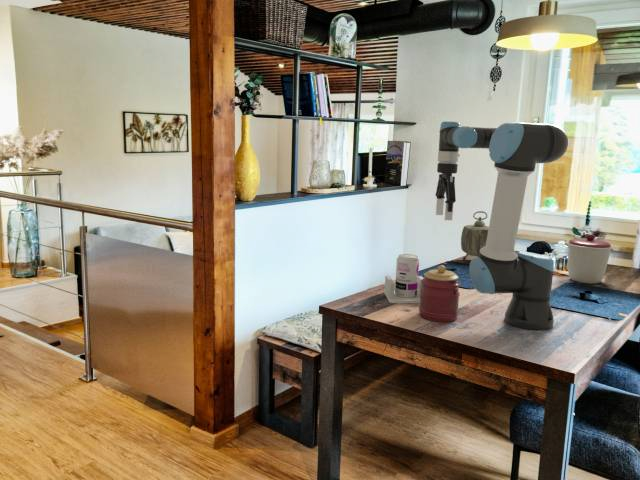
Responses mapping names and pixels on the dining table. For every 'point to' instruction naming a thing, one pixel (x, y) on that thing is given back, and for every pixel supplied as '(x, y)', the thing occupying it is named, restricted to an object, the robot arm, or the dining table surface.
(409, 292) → the supplement can
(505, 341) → the dining table surface
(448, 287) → the canister
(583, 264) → the canister
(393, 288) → the can holder
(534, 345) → the dining table surface
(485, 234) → the tabletop clock
